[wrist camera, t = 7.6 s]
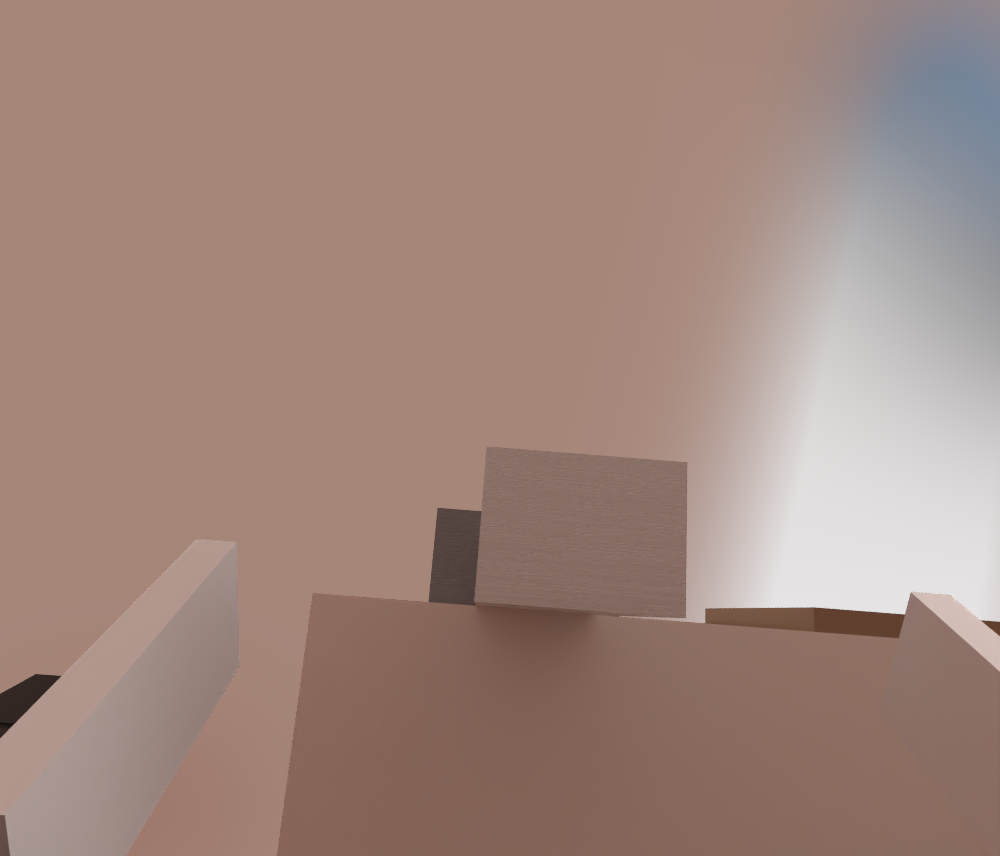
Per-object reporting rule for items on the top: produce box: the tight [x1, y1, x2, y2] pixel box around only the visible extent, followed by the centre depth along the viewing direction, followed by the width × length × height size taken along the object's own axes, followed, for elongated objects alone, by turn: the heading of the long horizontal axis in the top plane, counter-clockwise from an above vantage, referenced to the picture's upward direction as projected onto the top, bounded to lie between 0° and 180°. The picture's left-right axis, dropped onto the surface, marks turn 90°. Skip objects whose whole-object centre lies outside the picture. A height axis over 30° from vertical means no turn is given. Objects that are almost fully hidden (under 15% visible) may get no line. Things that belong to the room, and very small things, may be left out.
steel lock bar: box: [429, 447, 687, 618], centre depth 25 cm, size 23×8×4 cm, turn 2°
